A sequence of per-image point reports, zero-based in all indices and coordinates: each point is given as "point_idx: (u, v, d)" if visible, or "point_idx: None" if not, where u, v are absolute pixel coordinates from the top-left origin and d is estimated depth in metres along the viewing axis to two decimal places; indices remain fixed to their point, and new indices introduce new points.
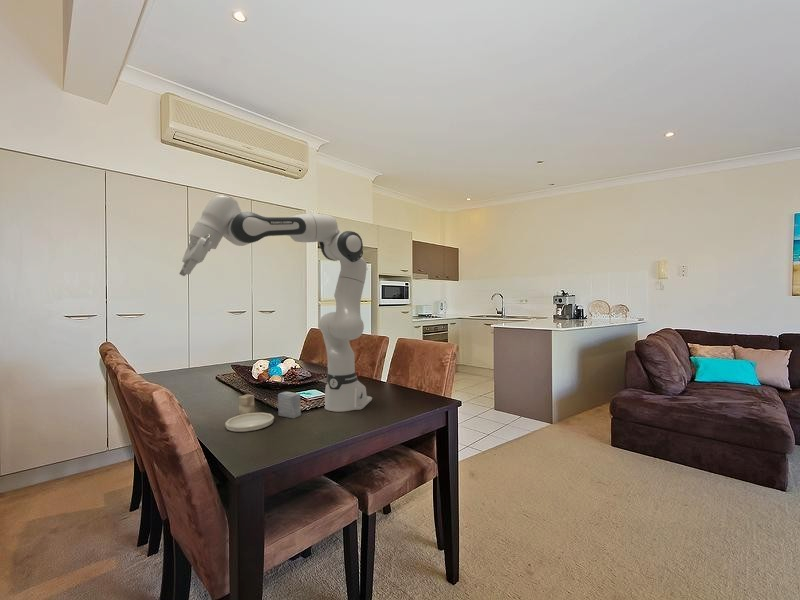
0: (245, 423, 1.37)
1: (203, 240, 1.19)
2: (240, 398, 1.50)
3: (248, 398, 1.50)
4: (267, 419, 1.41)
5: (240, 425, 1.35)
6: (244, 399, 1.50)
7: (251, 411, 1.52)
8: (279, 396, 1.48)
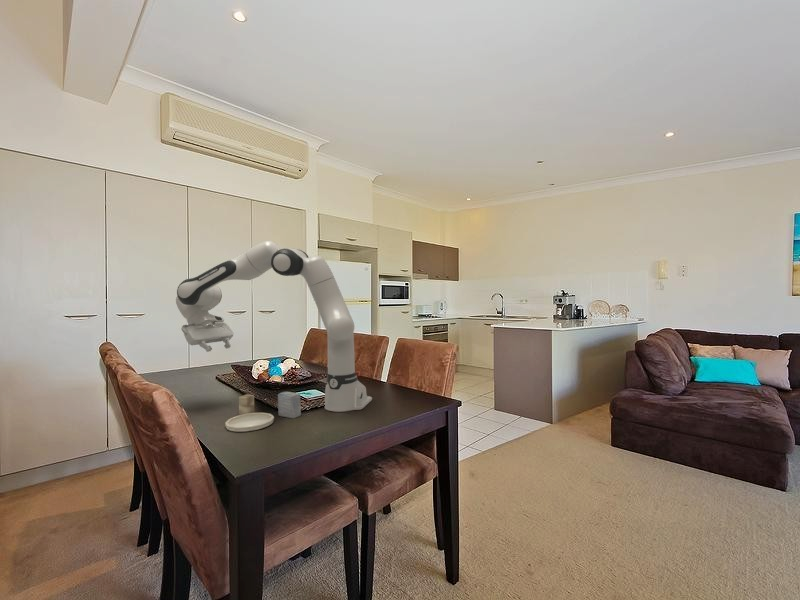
0: (245, 423, 1.37)
1: None
2: (240, 398, 1.50)
3: (248, 398, 1.50)
4: (267, 419, 1.41)
5: (240, 425, 1.35)
6: (244, 399, 1.50)
7: (251, 411, 1.52)
8: (279, 396, 1.48)
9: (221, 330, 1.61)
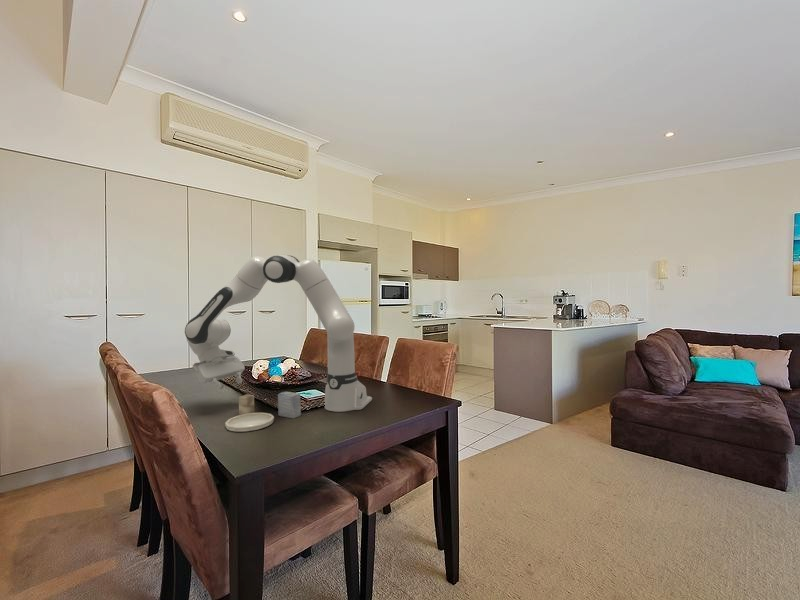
0: (245, 423, 1.37)
1: None
2: (240, 398, 1.50)
3: (248, 398, 1.50)
4: (267, 419, 1.41)
5: (240, 425, 1.35)
6: (244, 399, 1.50)
7: (251, 411, 1.52)
8: (279, 396, 1.48)
9: (232, 365, 1.61)
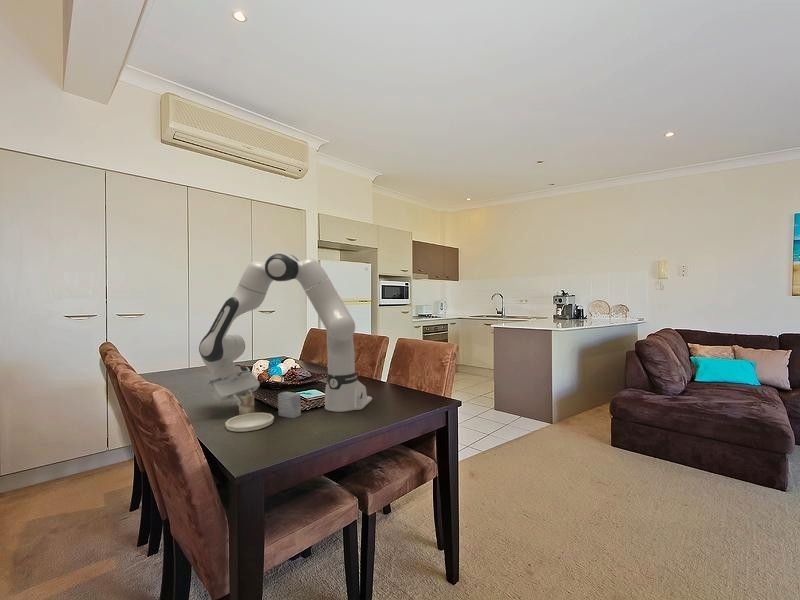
0: (245, 423, 1.37)
1: None
2: (240, 398, 1.50)
3: (248, 398, 1.50)
4: (267, 419, 1.41)
5: (240, 425, 1.35)
6: (244, 399, 1.50)
7: (251, 411, 1.52)
8: (279, 396, 1.48)
9: (247, 381, 1.58)
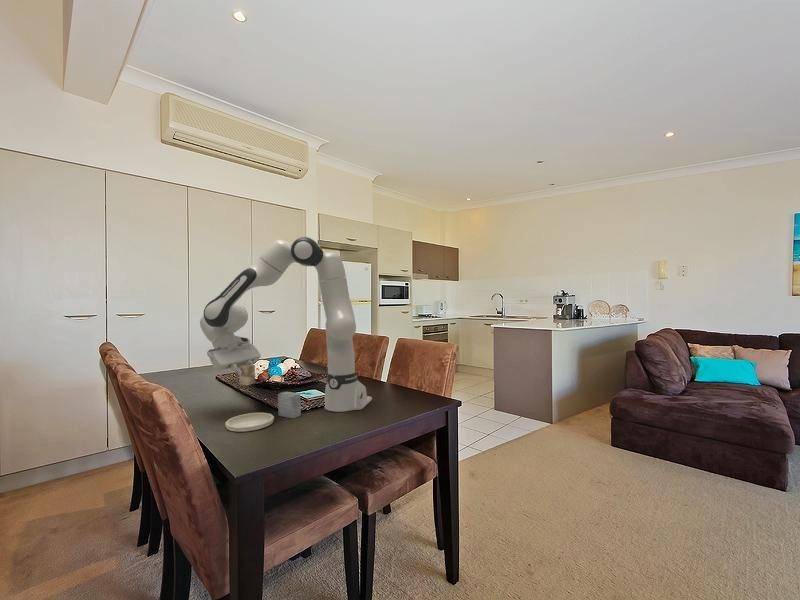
0: (245, 423, 1.37)
1: None
2: (240, 368, 1.46)
3: (248, 368, 1.46)
4: (267, 419, 1.41)
5: (240, 425, 1.35)
6: (244, 368, 1.46)
7: (252, 381, 1.48)
8: (279, 396, 1.48)
9: (248, 352, 1.54)
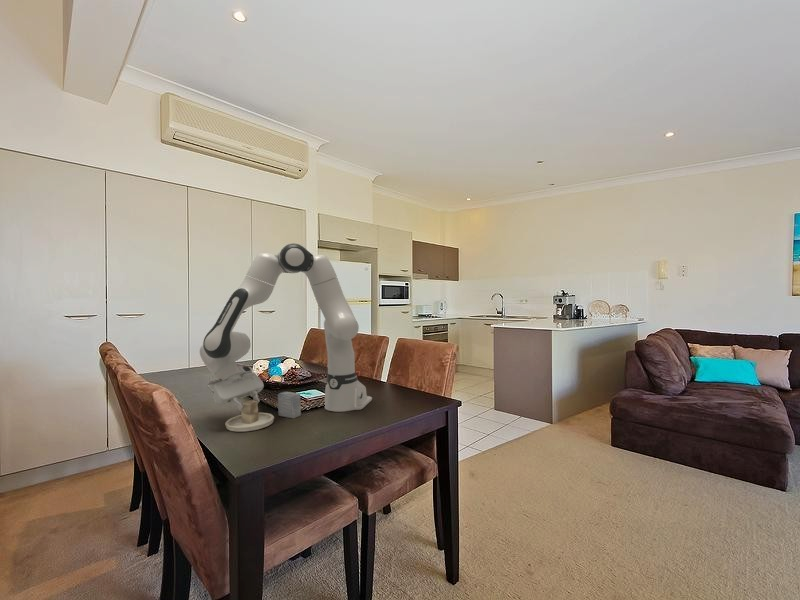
0: (245, 423, 1.37)
1: None
2: None
3: (251, 405, 1.37)
4: (267, 419, 1.41)
5: (240, 425, 1.35)
6: (247, 406, 1.37)
7: (255, 419, 1.39)
8: (279, 396, 1.48)
9: (250, 382, 1.45)
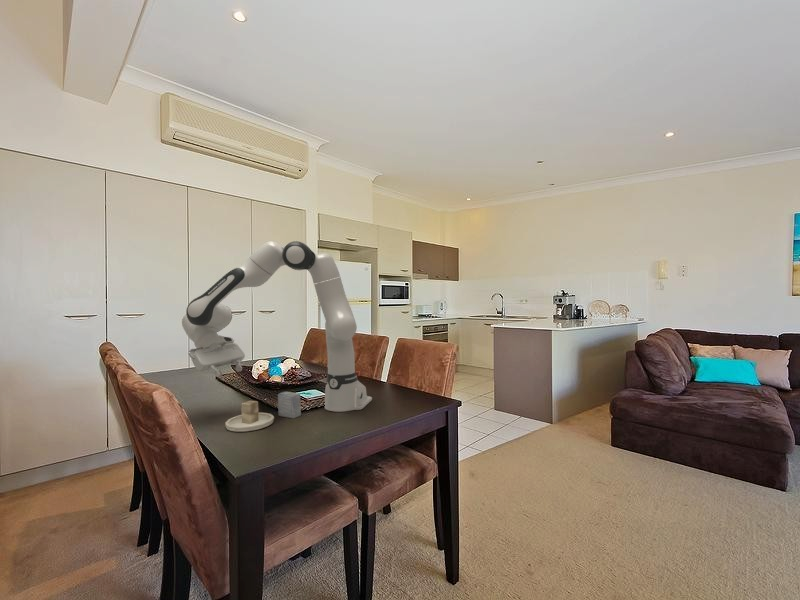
0: (245, 423, 1.37)
1: None
2: (243, 405, 1.38)
3: (252, 405, 1.37)
4: (267, 419, 1.41)
5: (240, 425, 1.35)
6: (247, 406, 1.37)
7: (255, 419, 1.39)
8: (279, 396, 1.48)
9: (231, 352, 1.50)
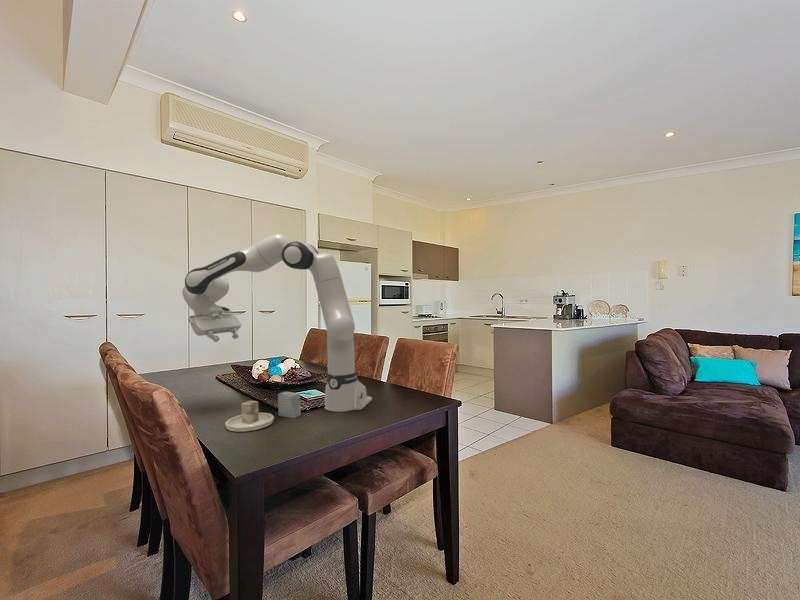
0: (245, 423, 1.37)
1: (191, 322, 1.49)
2: (243, 405, 1.38)
3: (252, 405, 1.37)
4: (267, 419, 1.41)
5: (240, 425, 1.35)
6: (247, 406, 1.37)
7: (255, 419, 1.39)
8: (279, 396, 1.48)
9: (228, 321, 1.60)
